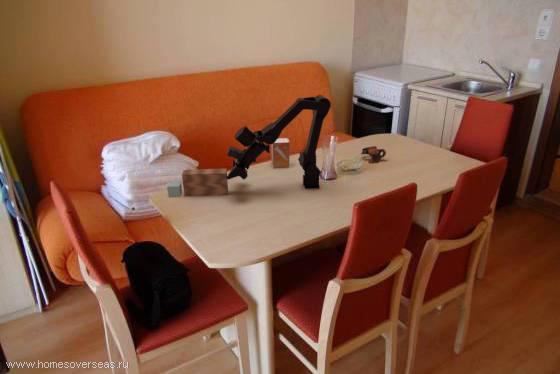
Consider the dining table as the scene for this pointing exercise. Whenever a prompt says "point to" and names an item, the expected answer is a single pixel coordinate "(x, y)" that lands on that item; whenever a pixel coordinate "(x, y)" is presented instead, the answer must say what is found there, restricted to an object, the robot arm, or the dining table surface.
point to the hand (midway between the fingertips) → (227, 178)
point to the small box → (280, 153)
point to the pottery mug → (373, 153)
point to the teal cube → (174, 189)
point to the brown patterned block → (205, 182)
